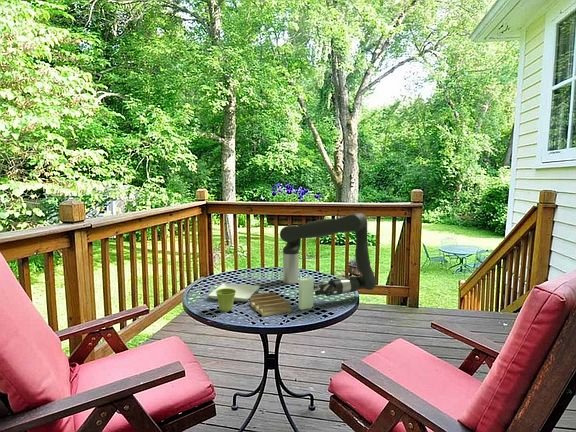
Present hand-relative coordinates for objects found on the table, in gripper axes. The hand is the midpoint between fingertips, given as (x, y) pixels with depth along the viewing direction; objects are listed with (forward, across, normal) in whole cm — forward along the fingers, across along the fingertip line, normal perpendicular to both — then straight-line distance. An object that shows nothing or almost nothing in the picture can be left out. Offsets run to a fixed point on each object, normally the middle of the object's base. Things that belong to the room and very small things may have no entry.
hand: (310, 290), depth 180 cm
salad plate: (+27, -31, +9) cm, 42 cm away
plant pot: (+38, -14, +8) cm, 41 cm away
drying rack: (+18, -7, +8) cm, 21 cm away
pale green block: (+3, 0, +8) cm, 8 cm away
